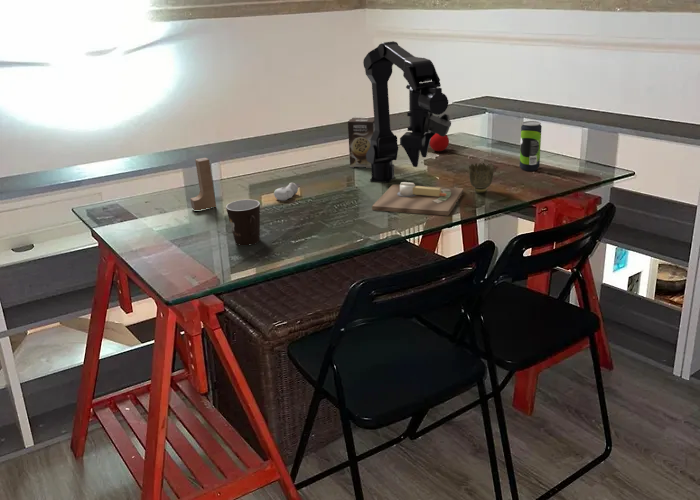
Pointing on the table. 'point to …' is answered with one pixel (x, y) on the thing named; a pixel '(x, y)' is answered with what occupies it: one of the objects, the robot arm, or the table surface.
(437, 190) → the tuner pointer lever
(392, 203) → the tuner board
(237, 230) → the coffee mug
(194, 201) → the wooden block
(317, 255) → the table surface
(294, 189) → the pale two-lobed sculpture
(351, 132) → the coffee box
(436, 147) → the christmas ornament
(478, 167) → the cup
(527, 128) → the beverage can
